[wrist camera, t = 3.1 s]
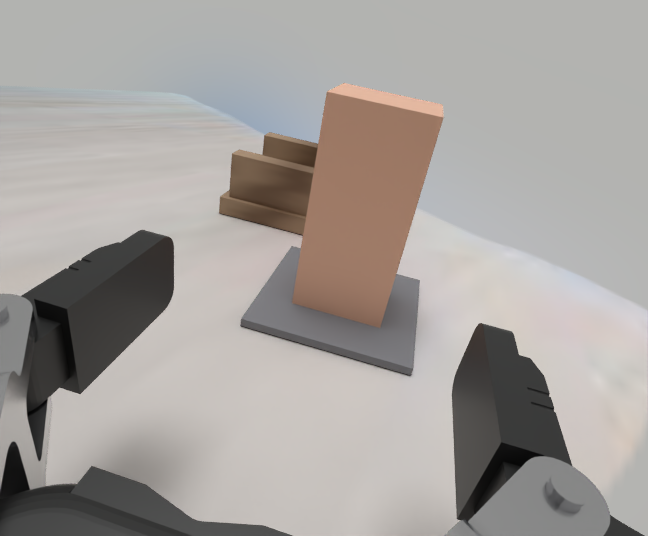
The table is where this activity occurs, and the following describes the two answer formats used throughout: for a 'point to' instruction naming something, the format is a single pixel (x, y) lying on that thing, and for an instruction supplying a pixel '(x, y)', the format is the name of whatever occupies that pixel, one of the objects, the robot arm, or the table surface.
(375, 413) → the table surface
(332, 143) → the tall salmon pink block
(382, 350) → the rubber mat
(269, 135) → the slotted rack
